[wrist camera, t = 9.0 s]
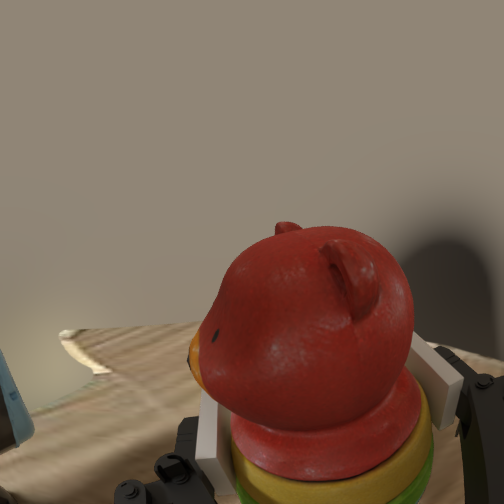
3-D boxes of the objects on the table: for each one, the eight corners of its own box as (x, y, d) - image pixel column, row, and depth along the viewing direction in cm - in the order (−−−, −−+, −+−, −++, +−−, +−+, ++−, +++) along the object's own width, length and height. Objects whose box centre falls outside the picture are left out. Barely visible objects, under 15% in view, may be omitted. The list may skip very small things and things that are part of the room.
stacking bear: (247, 473, 18) (160, 238, 14) (379, 438, 18) (366, 191, 14) (259, 598, 8) (26, 365, 4) (437, 545, 8) (560, 224, 4)
